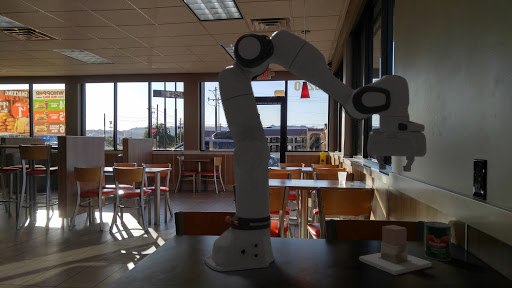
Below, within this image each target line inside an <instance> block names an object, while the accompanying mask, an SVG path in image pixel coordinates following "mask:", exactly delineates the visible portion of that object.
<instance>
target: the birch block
mask: <svg viewBox="0 0 512 288" xmlns="http://www.w3.org/2000/svg"><path fill="white" fill-rule="evenodd" d="M408 252H409V250H408V243H406V244H405V245H400V246H393V245H390V244H386V243H383V242H382V241H380V253H381V258H383V259H386V260H388V261H391V262H394V263H398V262H402V261H407V260H408V255H409V254H408Z"/></svg>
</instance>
